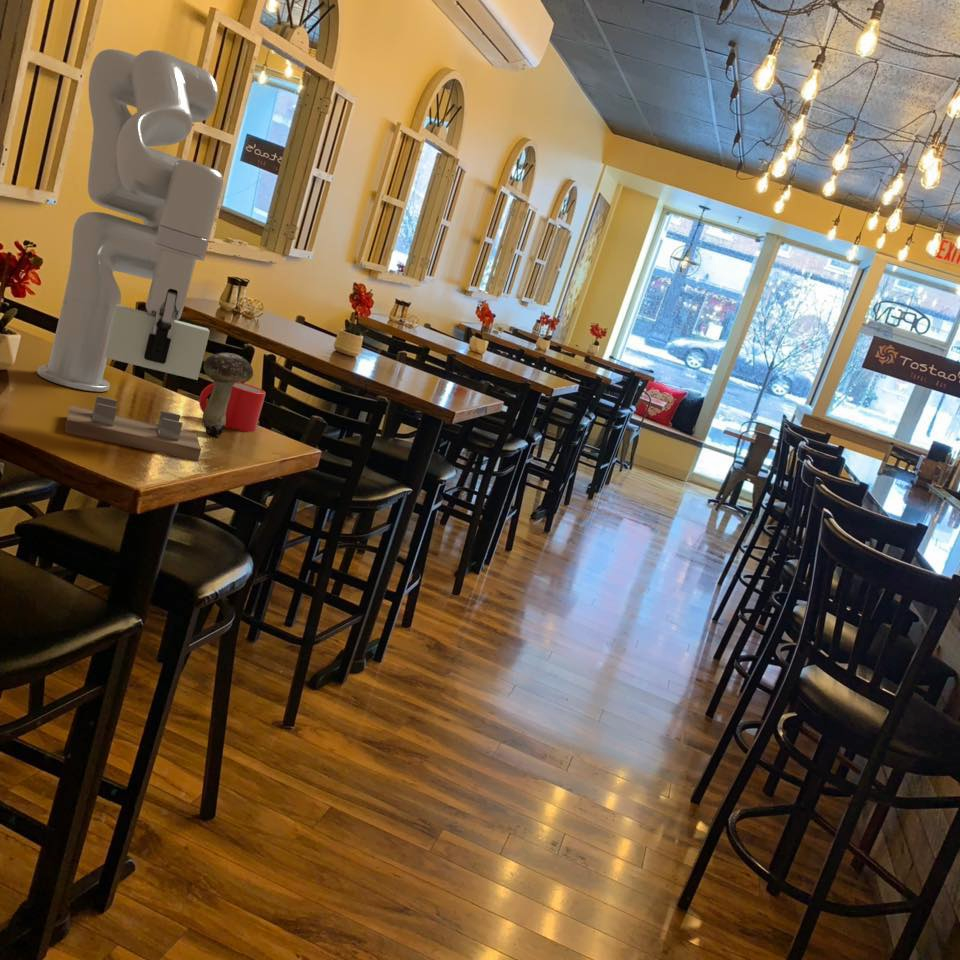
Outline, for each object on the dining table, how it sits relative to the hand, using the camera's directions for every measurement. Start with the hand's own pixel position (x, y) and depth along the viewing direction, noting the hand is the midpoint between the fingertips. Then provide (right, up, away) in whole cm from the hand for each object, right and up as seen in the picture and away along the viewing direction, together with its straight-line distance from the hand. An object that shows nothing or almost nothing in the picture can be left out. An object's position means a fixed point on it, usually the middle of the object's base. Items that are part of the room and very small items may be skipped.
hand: (153, 357), depth 147 cm
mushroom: (+2, -11, +23) cm, 26 cm away
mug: (+2, -8, +35) cm, 36 cm away
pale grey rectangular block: (0, -1, 0) cm, 2 cm away
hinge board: (-4, -13, +3) cm, 14 cm away
